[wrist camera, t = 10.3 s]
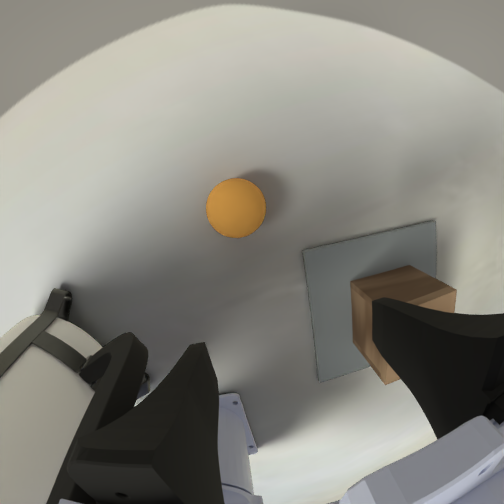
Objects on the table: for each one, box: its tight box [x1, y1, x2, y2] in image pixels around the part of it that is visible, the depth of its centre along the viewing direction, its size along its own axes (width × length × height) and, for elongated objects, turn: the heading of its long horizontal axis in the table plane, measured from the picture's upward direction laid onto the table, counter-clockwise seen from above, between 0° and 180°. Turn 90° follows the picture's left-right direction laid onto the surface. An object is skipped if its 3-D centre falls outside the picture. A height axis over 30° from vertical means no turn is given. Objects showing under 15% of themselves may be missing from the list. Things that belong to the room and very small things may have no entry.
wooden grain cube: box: [350, 265, 457, 385], centre depth 19 cm, size 6×6×6 cm
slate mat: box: [302, 221, 436, 383], centre depth 22 cm, size 12×12×1 cm
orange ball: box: [206, 178, 266, 238], centre depth 17 cm, size 4×4×4 cm
